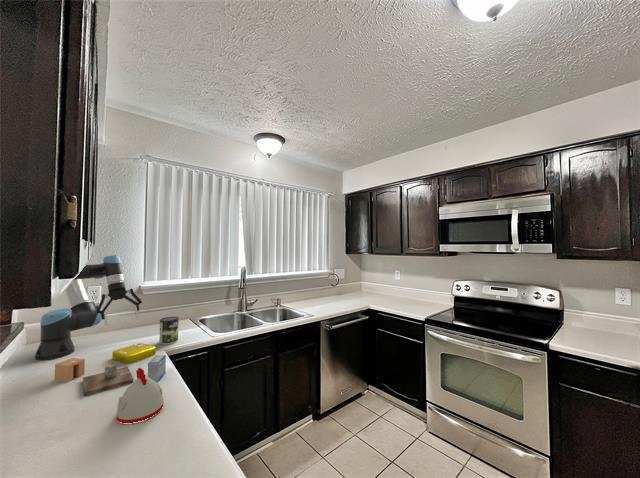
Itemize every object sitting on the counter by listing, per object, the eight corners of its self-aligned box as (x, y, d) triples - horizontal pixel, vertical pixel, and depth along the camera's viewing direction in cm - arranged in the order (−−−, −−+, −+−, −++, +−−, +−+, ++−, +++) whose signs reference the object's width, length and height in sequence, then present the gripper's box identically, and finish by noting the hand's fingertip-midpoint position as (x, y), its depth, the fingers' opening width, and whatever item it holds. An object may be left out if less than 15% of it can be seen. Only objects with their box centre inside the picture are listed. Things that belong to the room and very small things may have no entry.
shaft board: (84, 396, 105) (84, 379, 105) (82, 381, 117) (83, 366, 117) (133, 382, 116) (133, 367, 116) (127, 369, 128) (127, 355, 128)
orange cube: (54, 380, 117) (55, 363, 117) (72, 372, 124) (72, 357, 124) (67, 382, 116) (67, 365, 116) (84, 374, 123) (84, 358, 123)
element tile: (110, 359, 139) (110, 350, 139) (140, 349, 153) (140, 341, 153) (127, 365, 133) (127, 355, 133) (157, 354, 146) (157, 345, 147)
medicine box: (158, 381, 117) (158, 361, 117) (147, 382, 116) (147, 362, 116) (165, 373, 124) (166, 354, 125) (155, 374, 124) (155, 355, 124)
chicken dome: (155, 396, 105) (155, 358, 106) (169, 410, 97) (170, 368, 97) (111, 413, 95) (112, 370, 95) (123, 430, 86) (124, 383, 86)
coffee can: (182, 339, 168) (182, 317, 168) (168, 345, 158) (168, 321, 159) (169, 337, 171) (170, 315, 172) (155, 343, 162) (155, 319, 162)
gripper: (86, 287, 137) (93, 328, 135) (143, 277, 155) (150, 313, 152) (86, 289, 143) (92, 329, 140) (141, 279, 160) (147, 314, 157)
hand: (122, 321), depth 146 cm, fingers open, 13 cm apart
